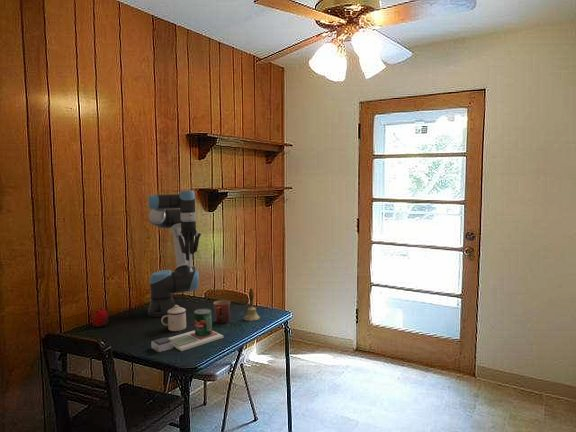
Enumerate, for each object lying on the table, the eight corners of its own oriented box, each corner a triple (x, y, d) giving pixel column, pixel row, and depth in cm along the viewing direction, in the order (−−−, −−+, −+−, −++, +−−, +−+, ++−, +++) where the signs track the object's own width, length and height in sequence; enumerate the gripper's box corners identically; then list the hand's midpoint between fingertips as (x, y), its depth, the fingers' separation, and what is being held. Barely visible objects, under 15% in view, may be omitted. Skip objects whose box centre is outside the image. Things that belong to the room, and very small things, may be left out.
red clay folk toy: (101, 323, 216) (99, 294, 215) (112, 324, 214) (110, 295, 213) (90, 327, 209) (88, 298, 208) (101, 329, 207) (99, 299, 205)
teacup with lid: (185, 324, 211) (184, 301, 210) (188, 329, 203) (187, 306, 202) (160, 327, 206) (159, 305, 205) (163, 333, 198) (161, 309, 197)
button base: (151, 348, 180) (151, 341, 180) (166, 343, 185) (166, 337, 185) (158, 352, 175) (158, 345, 175) (174, 348, 180) (173, 341, 179)
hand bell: (244, 316, 221) (243, 287, 220) (259, 315, 222) (258, 286, 220) (243, 321, 213) (242, 291, 211) (259, 320, 213) (259, 290, 212)
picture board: (163, 341, 188) (163, 339, 188) (204, 329, 202) (204, 327, 202) (181, 351, 176) (181, 348, 176) (223, 337, 191) (223, 335, 191)
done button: (154, 346, 180) (154, 340, 180) (165, 343, 183) (165, 337, 183) (159, 350, 176) (159, 343, 176) (170, 346, 180) (170, 340, 180)
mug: (217, 318, 218) (216, 299, 217) (233, 319, 216) (232, 300, 215) (208, 326, 206) (208, 306, 206) (225, 327, 205) (224, 307, 204)
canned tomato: (213, 330, 197) (212, 308, 196) (210, 336, 189) (209, 313, 188) (196, 331, 196) (195, 308, 196) (193, 337, 189) (192, 313, 188)
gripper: (180, 222, 204) (182, 269, 206) (203, 220, 212) (205, 265, 214) (172, 221, 209) (175, 267, 211) (195, 219, 218) (197, 263, 220)
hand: (190, 266), depth 213 cm, fingers closed
